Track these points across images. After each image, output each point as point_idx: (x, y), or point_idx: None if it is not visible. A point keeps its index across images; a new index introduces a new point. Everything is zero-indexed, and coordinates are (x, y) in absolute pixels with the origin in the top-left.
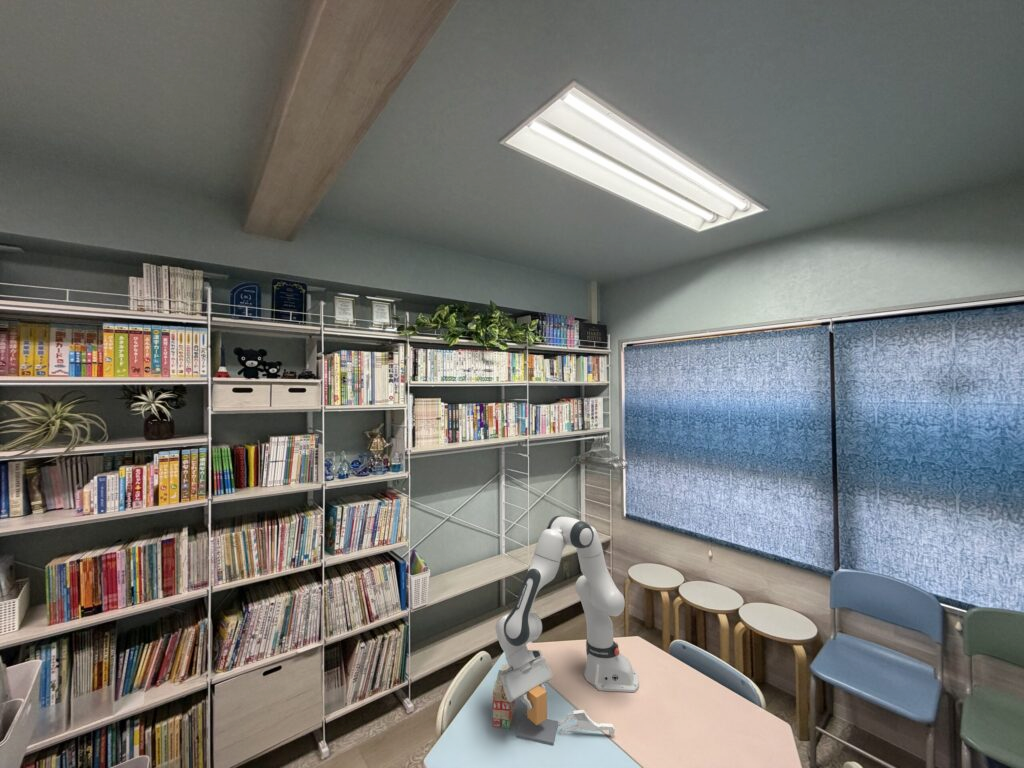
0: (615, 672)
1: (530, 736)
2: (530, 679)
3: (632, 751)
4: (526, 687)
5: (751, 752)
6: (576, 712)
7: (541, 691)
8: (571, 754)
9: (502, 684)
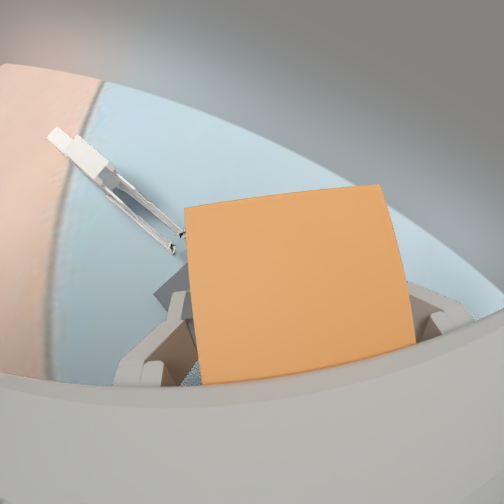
0: None
1: None
2: (362, 480)
3: (84, 96)
4: (462, 366)
5: (5, 73)
6: (93, 158)
7: (251, 248)
8: (225, 141)
9: None
